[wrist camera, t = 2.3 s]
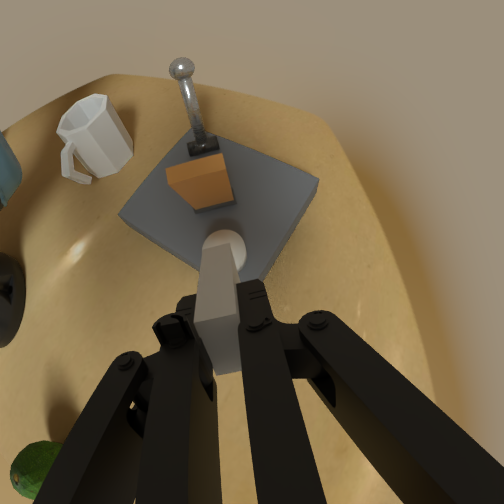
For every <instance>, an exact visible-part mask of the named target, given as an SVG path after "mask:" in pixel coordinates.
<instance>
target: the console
mask: <svg viewBox="0 0 504 504" xmlns="http://www.w3.org/2000/svg"><path fill="white" fill-rule="evenodd" d="M206 135H207V137H211V136H215V135H214V134H212V133H209V132H206ZM217 139H218V143H219V148H220V149H219V150H215V151H211V152H207V153H203V154H200V155H196V156H192V157H190V155H189V152H188V148H187V143H188V142H192V141H195V137H194V134H193V130H192V128H191V129H190V130H189V131H188V132H187V133H186V134H185V135H184V136H183V137H182V138H181V139H180V140H179V141H178V142H177V143H176V145H175V146H174V147H173V148H172V149H171V150H170V151H169V152H168V153H167V155H166V156H165V157H164V158H163V159H162V160H161V161H160V162H159V164H158V165H157V166H156V167H155V168H154V169H153V171H152V172H151V173H150V174H149V175H148V177H147V178H146V179H145V180H144V181H143V183H142V184H141V185H140V186H139V188H138V189H137V190H136V191H135V193H134V194H133V195H132V196H131V198H130V199H129V200H128V201H127V203H126V204H125V205H124V207H123V208H122V209H121V211H120V212H119V213H118V216H119V217H120V218H121V219H122V220H123V221H124V222H125V223H126V224H127V225H128V226H130V227H131V228H133V229H134V230H136V231H137V232H139V233H140V234H142V235H143V236H145V237H146V238H148V239H149V240H151V241H152V242H154V243H155V244H157V245H158V246H160V247H161V248H163V249H165V250H166V251H168V252H169V253H171V254H172V255H174V256H175V257H177V258H179V259H180V260H182V261H183V262H185V263H186V264H188V265H190V266H191V267H193V268H194V269H196V270H198V271H199V272H200V265H201V258H202V247H203V244H204V242H205V240H206V239H207V237H208V236H209V235H211V234H212V233H214V232H216V231H218V230H231V231H234V232H236V233H238V234H239V235H240V236H241V237H242V239H243V241H244V243H245V247H246V251H247V261H246V264H245V266H244V268H243V269H242V270H241V271H240V272H239V273H238V275H239V279H240V282H245V281H249V280H254V279H259V280H260V281H262V282H263V280H264V279H265V277H266V275H267V274H268V272H269V270H270V269H271V267H272V266H273V264H274V262H275V261H276V259H277V257H278V256H279V254H280V253H281V251H282V249H283V248H284V246H285V244H286V243H287V241H288V239H289V238H290V236H291V234H292V233H293V231H294V229H295V228H296V226H297V224H298V223H299V221H300V219H301V218H302V216H303V214H304V213H305V211H306V209H307V208H308V206H309V204H310V203H311V201H312V199H313V198H314V196H315V194H316V192H317V187H318V182H319V178H317V177H314V176H312V175H310V174H308V173H306V172H304V171H302V170H299V169H297V168H295V167H293V166H291V165H288V164H286V163H284V162H281V161H279V160H277V159H275V158H272V157H270V156H267V155H265V154H263V153H260V152H258V151H255V150H253V149H251V148H248V147H246V146H243V145H241V144H238V143H235V142H233V141H230V140H228V139H225V138H222V137H220V136H217ZM220 153H222V154H223V158H224V162H225V166H226V170H227V174H228V178H229V182H230V186H231V187H233V190H234V194H235V198H236V202H237V204H234V205H230V206H226V207H222V208H218V209H214V210H210V211H206V212H202V213H199V214H195V213H194V210H193V207H192V206H191V205H190V204H189V203H188V202H186V201H185V200H184V199H183V198H182V197H181V196H180V195H179V194H178V193H177V192H176V191H175V190H173V189H172V188H171V187H170V186H169V185H168V181H167V175H166V170H165V168H169V167H172V166H175V165H179V164H182V163H186V162H189V161H193V160H197V159H200V158H204V157H208V156H212V155H216V154H220Z"/></svg>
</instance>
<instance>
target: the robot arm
mask: <svg viewBox="0 0 504 504" xmlns="http://www.w3.org/2000/svg"><path fill="white" fill-rule="evenodd" d="M21 180H22V169H21V166H20V164H19V162H18V160H17V158H16V156H15V155H14V153H13V151H12V149H11V148H10V146H9V144H8V143H7V141H6V139H5V138H4V136H3V134H2V133H1V131H0V211H1V210H2V208H3V207H6V206H7V202H8V200H9V199H10V197H11V196H12V195H13V193H14V192H15V191H16V189H17V188H18V187H19V185H20V183H21ZM24 303H25V281H24V276H23V272H22V269H21V267H20V265H19V263H18V262H17V261H16V260H15V259H14V258H12V257H11V256H9V255H7V254H5V253H2V252H0V348H2V347H5V346H6V345H8V344H9V343H10V342H11V341H12V339H13V338H14V336H15V334H16V333H17V330H18V328H19V325H20V322H21V319H22V315H23V310H24ZM152 329H153V331H154V333H155V335H156V337H157V338H158V340H159V342H160V344H161V347H160V351H159V352H157V353H155V354H152V355H150V356H147V357H145V358H143V357H142V355H141V354H140V353H138V352H135V351H129V352H125V353H123V354H121V355H119V356H118V357H116V359H115V360H114V361H113V362H112V364H111V365H110V367H109V368H108V370H107V372H106V373H105V375H104V376H103V378H102V380H101V381H100V383H99V384H98V386H97V388H96V389H95V391H94V392H93V394H92V396H91V397H90V399H89V401H88V402H87V404H86V406H85V407H84V409H83V411H82V412H81V414H80V416H79V418H78V419H77V421H76V423H75V424H74V426H73V428H72V430H71V431H70V433H69V435H68V437H67V439H66V440H65V442H64V444H63V446H62V448H61V449H60V451H59V453H58V455H57V457H56V459H55V460H54V462H53V464H52V466H51V468H50V470H49V472H48V474H47V476H46V478H45V480H44V481H43V483H42V485H41V487H40V489H39V491H38V494H37V496H36V498H35V500H34V502H33V504H133V503H134V500H135V498H136V500H135V504H222V491H221V475H220V458H219V437H218V412H217V385H216V382H215V379H214V377H213V369H214V371H215V373H216V376H217V375H222V374H227V373H232V372H237V371H242V377H243V387H244V396H245V404H246V413H247V422H248V430H249V438H250V446H251V454H252V462H253V470H254V478H255V485H256V492H257V500H258V504H327V502H326V498H325V495H324V491H323V488H322V484H321V480H320V477H319V473H318V470H317V466H316V463H315V459H314V456H313V452H312V448H311V445H310V441H309V438H308V434H307V431H306V427H305V424H304V420H303V416H302V413H301V409H300V406H299V402H298V399H297V395H296V392H295V388H294V385H293V381H292V379H307V381H308V382H309V384H310V385H311V386H312V388H313V389H314V390H315V392H316V393H317V394H318V396H319V397H320V398H321V400H322V401H323V402H324V404H325V405H326V406H327V408H328V409H329V410H330V412H331V413H332V414H333V416H334V417H335V418H336V420H337V421H338V422H339V423H340V425H341V426H342V427H343V429H344V430H345V431H346V433H347V434H348V435H349V436H350V438H351V439H352V440H353V442H354V443H355V444H356V445H357V447H358V448H359V449H360V450H361V452H362V453H363V454H364V455H365V457H366V458H367V459H368V461H369V462H370V463H371V464H372V466H373V467H374V468H375V469H376V470H377V472H378V473H379V474H380V475H381V477H382V478H383V479H384V480H385V482H386V483H387V484H388V485H389V486H390V488H391V489H392V490H393V491H394V493H395V494H396V495H397V496H398V497H399V499H400V500H401V501H402V502H403V503H404V504H504V467H503V466H502V465H501V464H500V463H499V462H497V461H496V460H495V459H494V458H493V457H492V456H491V455H490V454H489V453H488V452H487V451H486V450H485V449H483V448H482V447H481V446H480V445H479V444H478V443H477V442H476V441H475V440H474V439H472V438H471V437H470V436H469V435H468V434H467V433H466V432H465V431H464V430H463V429H462V428H460V427H459V426H458V425H457V424H456V423H455V422H454V421H453V420H452V419H451V418H450V417H448V416H447V415H446V414H445V413H444V412H443V411H442V410H441V409H440V408H439V407H437V406H436V405H435V404H434V403H433V402H432V401H431V400H430V399H429V398H428V397H426V396H425V395H424V394H423V393H422V392H421V391H420V390H419V389H418V388H416V387H415V386H414V385H413V384H412V383H411V382H410V381H409V380H408V379H406V378H405V377H404V376H403V375H402V374H401V373H400V372H399V371H398V370H396V369H395V368H394V367H393V366H392V365H391V364H390V363H389V362H388V361H386V360H385V359H384V358H383V357H382V356H381V355H380V354H379V353H377V352H376V351H375V350H374V349H373V348H372V347H371V346H370V345H369V344H367V343H366V342H365V341H364V340H363V339H362V338H361V337H360V336H358V335H357V334H356V333H355V332H354V331H353V330H352V329H351V328H349V327H348V326H347V325H346V324H345V323H344V322H343V321H342V320H340V319H339V318H338V317H337V316H336V315H335V314H333V313H331V312H329V311H324V310H318V311H313V312H309V313H307V314H306V315H304V316H302V318H301V319H300V320H299V323H298V324H286V323H282V322H280V321H277V320H276V319H275V318H274V316H273V314H272V310H271V307H270V303H269V300H268V296H267V293H266V289H265V286H264V283H263V282H262V281H260V280H259V279H254V280H249V281H245V282H240V279H239V275H238V272H237V268H236V264H235V260H234V257H233V253H232V249H231V246H230V243H226V244H222V245H218V246H214V247H210V248H206V249H203V251H202V258H201V265H200V273H199V281H198V289H197V294H193V295H189V296H185V297H182V298H181V300H180V301H179V302H178V304H177V307H176V312H175V313H171V314H167V315H165V316H163V317H161V318H159V319H158V320H157V321H156V322H155V323H154V325H153V326H152ZM132 401H133V402H134V403H135V405H134V407H133V408H132V409H130V405H131V403H132Z"/></svg>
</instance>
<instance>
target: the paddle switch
mask: <svg viewBox="0 0 504 504" xmlns="http://www.w3.org/2000/svg"><path fill="white" fill-rule="evenodd" d="M165 170H166V175H167V181H168V185H169V186H170V187H171V188H172V189H173V190H175V191H176V192H177V193H178V194H179V195H180V196H181V197H182V198H183V199H184V200H185V201H186V202H188V203H189V204H190V205H191V206H192V207H193V210H194V213H195V214H199V213H202V212H206V211H210V210H214V209H218V208H222V207H226V206H230V205H234V204H237V202H236V198H235V194H234V190H233V187H231V186H230V182H229V178H228V174H227V170H226V166H225V162H224V158H223V154H222V153H220V154H216V155H212V156H208V157H204V158H200V159H197V160H193V161H189V162H186V163H182V164H179V165H175V166H172V167H169V168H165Z"/></svg>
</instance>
